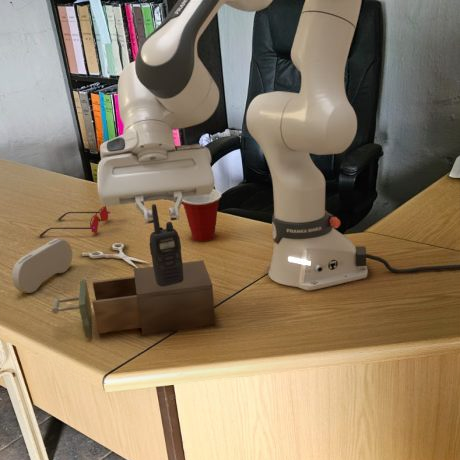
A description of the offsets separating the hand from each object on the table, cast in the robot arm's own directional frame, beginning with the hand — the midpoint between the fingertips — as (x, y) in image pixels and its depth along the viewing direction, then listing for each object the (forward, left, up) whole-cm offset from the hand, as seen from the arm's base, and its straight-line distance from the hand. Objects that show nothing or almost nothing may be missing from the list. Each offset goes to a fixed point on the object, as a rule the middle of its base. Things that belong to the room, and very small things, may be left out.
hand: (162, 220), depth 110 cm
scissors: (+9, -46, -25) cm, 53 cm away
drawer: (+13, -11, -24) cm, 30 cm away
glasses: (+21, -73, -25) cm, 80 cm away
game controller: (+27, -38, -25) cm, 53 cm away
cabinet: (-1, -11, -25) cm, 27 cm away
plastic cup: (-13, -54, -25) cm, 61 cm away
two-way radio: (0, -1, -12) cm, 12 cm away
